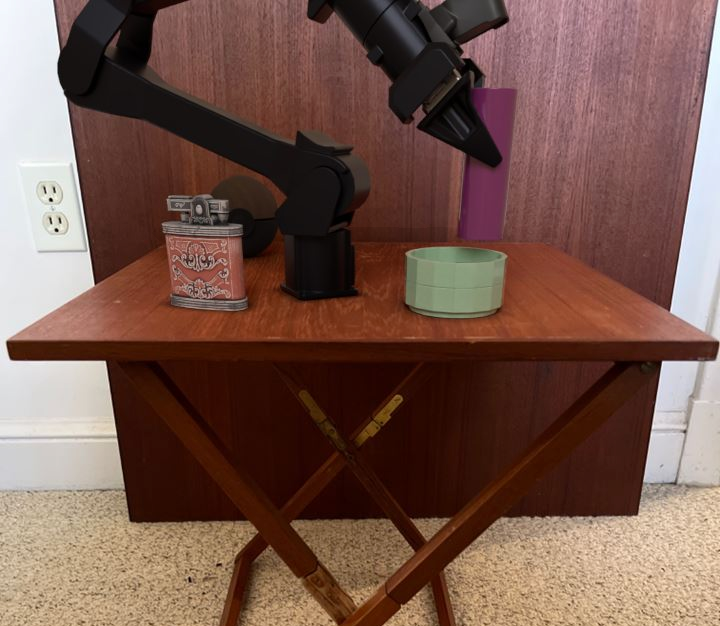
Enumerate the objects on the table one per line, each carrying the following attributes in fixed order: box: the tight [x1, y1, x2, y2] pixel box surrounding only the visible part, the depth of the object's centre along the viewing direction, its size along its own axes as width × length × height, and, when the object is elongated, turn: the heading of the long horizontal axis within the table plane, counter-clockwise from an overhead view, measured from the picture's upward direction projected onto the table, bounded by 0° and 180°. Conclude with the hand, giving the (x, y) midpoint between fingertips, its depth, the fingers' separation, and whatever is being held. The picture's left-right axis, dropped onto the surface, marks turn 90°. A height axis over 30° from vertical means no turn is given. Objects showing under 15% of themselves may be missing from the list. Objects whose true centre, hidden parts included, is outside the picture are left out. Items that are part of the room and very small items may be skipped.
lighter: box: [161, 193, 249, 312], centre depth 66 cm, size 8×3×10 cm, turn 71°
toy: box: [209, 174, 279, 258], centre depth 92 cm, size 9×10×10 cm
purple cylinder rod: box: [456, 87, 519, 242], centre depth 64 cm, size 4×4×12 cm
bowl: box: [403, 246, 509, 319], centre depth 67 cm, size 9×9×5 cm
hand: (501, 162), depth 64 cm, fingers closed on purple cylinder rod, 4 cm apart
